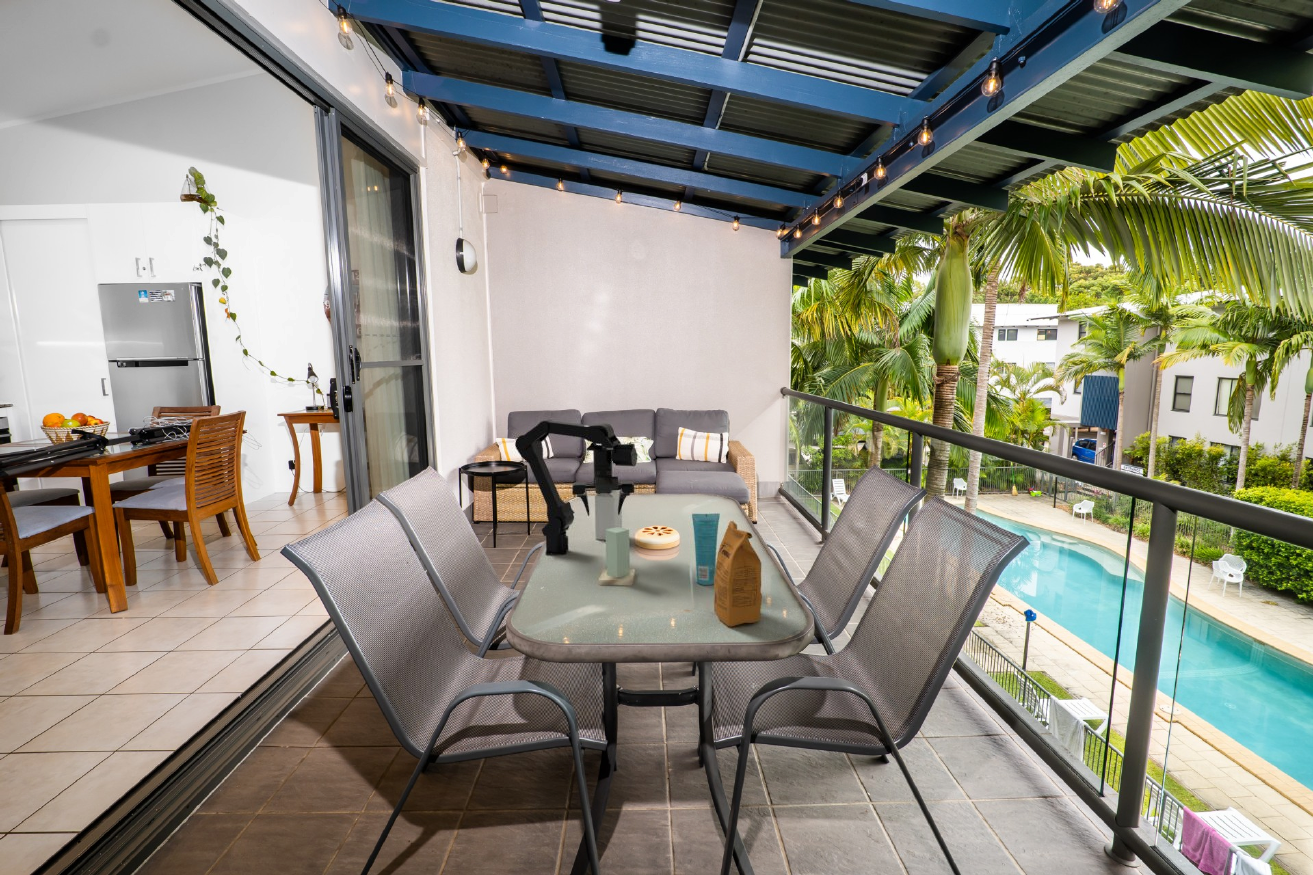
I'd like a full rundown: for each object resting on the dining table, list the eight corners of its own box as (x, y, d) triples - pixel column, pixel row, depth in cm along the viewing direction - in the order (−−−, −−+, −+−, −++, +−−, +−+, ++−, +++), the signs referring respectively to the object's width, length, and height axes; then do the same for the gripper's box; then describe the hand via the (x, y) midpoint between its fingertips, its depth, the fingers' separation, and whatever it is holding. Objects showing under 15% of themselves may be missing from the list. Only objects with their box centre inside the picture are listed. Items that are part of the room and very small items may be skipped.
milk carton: (595, 539, 205) (594, 484, 203) (603, 533, 212) (602, 480, 210) (614, 541, 203) (614, 485, 201) (622, 535, 210) (621, 481, 208)
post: (606, 574, 165) (605, 529, 164) (619, 570, 168) (618, 526, 167) (617, 578, 162) (616, 532, 161) (629, 574, 165) (629, 529, 164)
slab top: (598, 585, 161) (598, 579, 161) (603, 573, 170) (602, 568, 170) (632, 585, 161) (632, 580, 161) (634, 574, 170) (634, 568, 170)
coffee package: (747, 604, 149) (749, 517, 147) (765, 626, 137) (767, 531, 135) (708, 607, 148) (709, 520, 145) (723, 629, 136) (724, 534, 133)
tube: (716, 578, 168) (717, 510, 165) (721, 584, 163) (721, 515, 161) (690, 580, 166) (690, 512, 164) (694, 586, 162) (694, 516, 159)
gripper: (571, 470, 175) (572, 522, 177) (635, 468, 177) (635, 520, 179) (572, 464, 186) (573, 513, 188) (632, 462, 188) (633, 511, 190)
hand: (603, 515), depth 186 cm, fingers open, 9 cm apart
